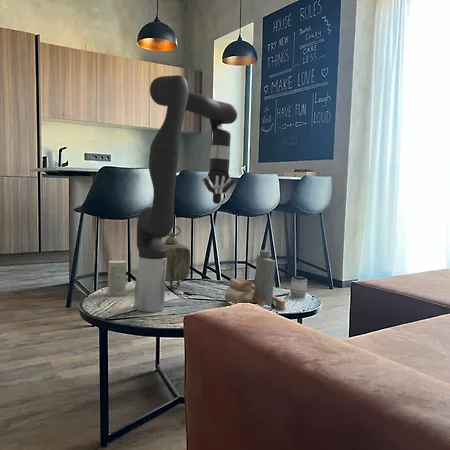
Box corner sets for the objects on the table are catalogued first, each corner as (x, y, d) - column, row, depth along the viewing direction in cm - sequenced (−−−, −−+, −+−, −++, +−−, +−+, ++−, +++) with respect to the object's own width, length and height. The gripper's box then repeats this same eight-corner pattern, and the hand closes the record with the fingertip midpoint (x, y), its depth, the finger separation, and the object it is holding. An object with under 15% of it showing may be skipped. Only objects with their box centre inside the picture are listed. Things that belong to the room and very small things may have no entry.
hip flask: (272, 310, 157) (277, 254, 155) (261, 310, 156) (266, 253, 154) (260, 299, 172) (264, 247, 171) (250, 298, 171) (254, 246, 170)
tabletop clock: (180, 284, 186) (184, 224, 184) (190, 289, 179) (194, 227, 176) (147, 286, 179) (151, 224, 176) (156, 292, 171) (160, 226, 169)
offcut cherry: (239, 291, 158) (239, 283, 157) (229, 287, 164) (230, 279, 163) (251, 291, 160) (251, 282, 160) (241, 286, 166) (242, 278, 166)
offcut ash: (237, 300, 157) (238, 292, 157) (226, 295, 164) (227, 286, 164) (252, 299, 160) (252, 291, 160) (240, 294, 167) (241, 286, 167)
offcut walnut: (235, 309, 157) (235, 300, 156) (224, 302, 165) (225, 294, 165) (253, 308, 160) (253, 300, 159) (242, 301, 168) (242, 293, 167)
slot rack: (260, 310, 156) (261, 302, 155) (229, 291, 181) (230, 283, 181) (284, 309, 159) (285, 301, 159) (250, 290, 185) (251, 283, 185)
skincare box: (124, 293, 166) (126, 260, 165) (125, 296, 162) (127, 262, 161) (106, 293, 164) (108, 259, 163) (107, 296, 160) (108, 262, 159)
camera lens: (288, 293, 184) (290, 275, 184) (303, 294, 185) (305, 275, 184) (292, 297, 178) (293, 278, 178) (307, 298, 179) (309, 279, 178)
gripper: (206, 156, 165) (203, 203, 167) (239, 159, 170) (236, 205, 172) (200, 156, 172) (197, 202, 173) (231, 160, 177) (228, 204, 179)
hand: (216, 203), depth 173 cm, fingers closed
